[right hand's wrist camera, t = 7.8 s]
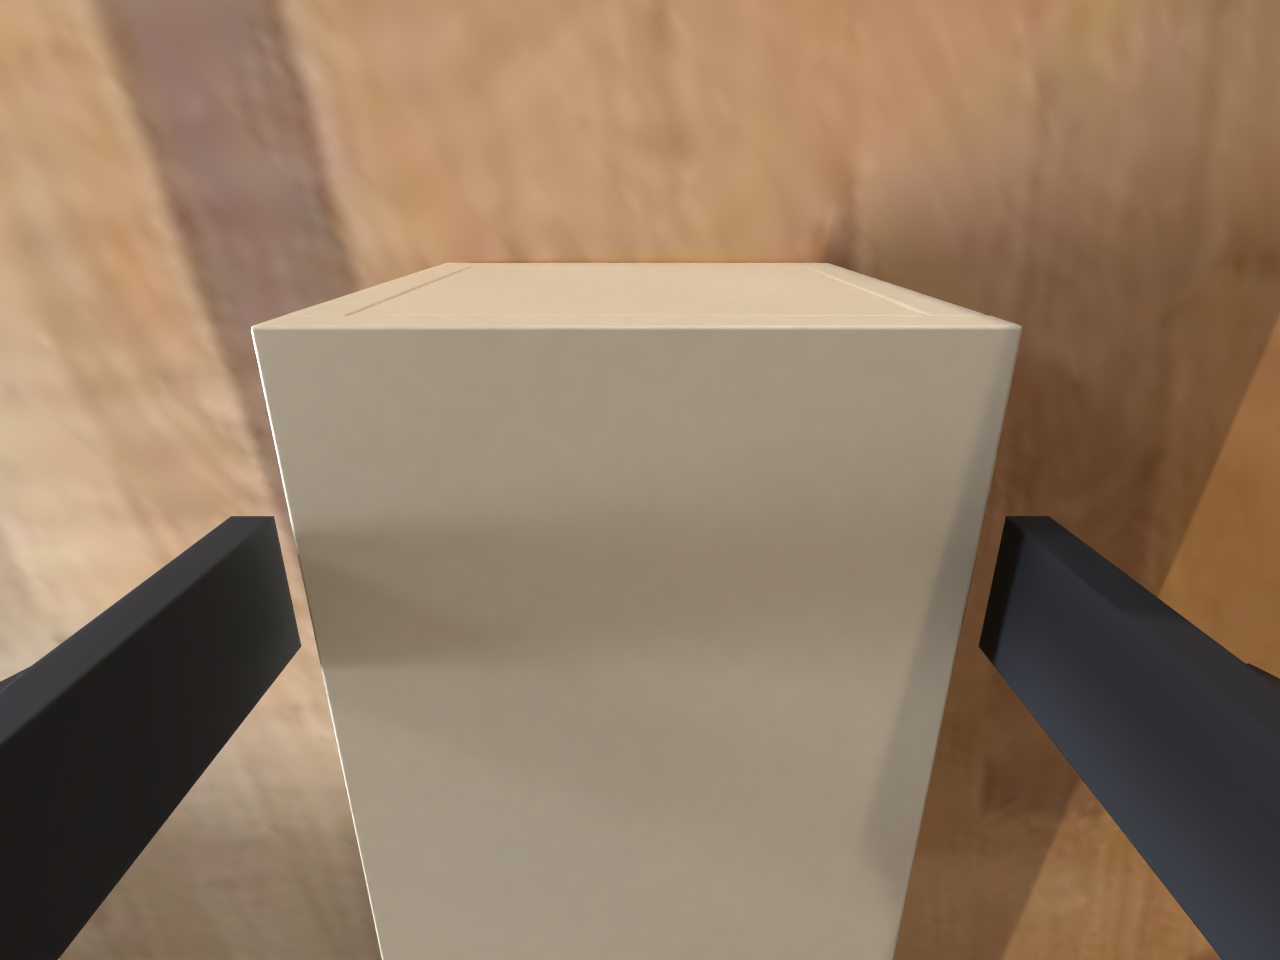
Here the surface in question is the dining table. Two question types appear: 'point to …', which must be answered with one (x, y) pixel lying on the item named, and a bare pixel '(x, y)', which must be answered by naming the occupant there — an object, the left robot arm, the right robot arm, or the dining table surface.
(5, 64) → the dining table surface
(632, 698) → the cabinet
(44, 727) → the right robot arm
